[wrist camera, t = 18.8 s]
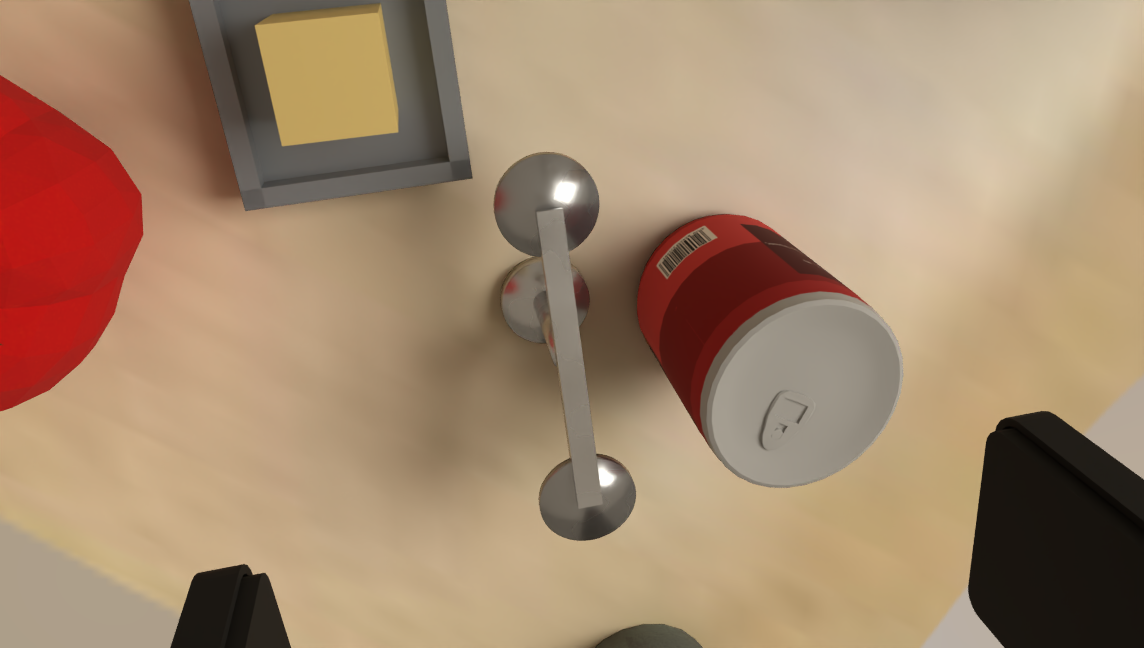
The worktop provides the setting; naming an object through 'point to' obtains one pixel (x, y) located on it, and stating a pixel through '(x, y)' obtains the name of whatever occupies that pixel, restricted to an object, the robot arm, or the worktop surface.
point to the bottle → (650, 638)
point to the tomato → (57, 243)
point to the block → (329, 73)
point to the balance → (560, 331)
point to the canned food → (767, 351)
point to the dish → (346, 166)
